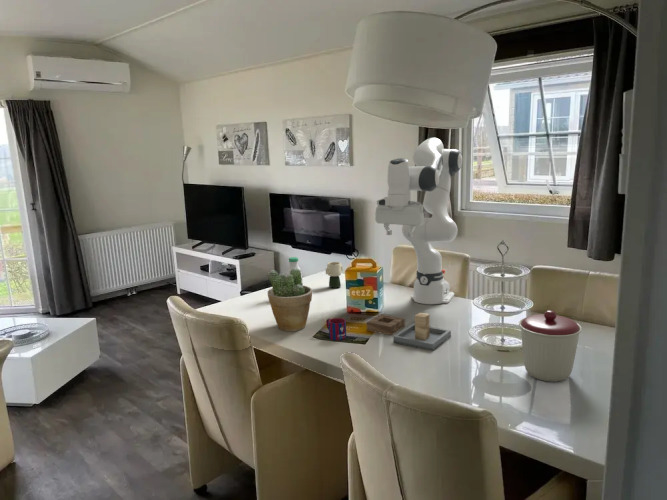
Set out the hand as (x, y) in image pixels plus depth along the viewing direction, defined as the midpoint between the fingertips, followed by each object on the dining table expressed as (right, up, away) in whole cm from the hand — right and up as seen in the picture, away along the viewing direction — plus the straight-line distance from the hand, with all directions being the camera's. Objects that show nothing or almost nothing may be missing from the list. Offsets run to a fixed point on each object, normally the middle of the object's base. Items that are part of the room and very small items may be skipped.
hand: (399, 235), depth 208 cm
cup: (-25, -40, -2) cm, 47 cm away
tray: (+7, -40, -10) cm, 41 cm away
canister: (+41, -45, -43) cm, 75 cm away
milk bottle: (-45, -29, +52) cm, 75 cm away
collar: (-5, -37, +4) cm, 38 cm away
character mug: (-26, -26, +67) cm, 76 cm away
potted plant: (-43, -38, +10) cm, 58 cm away
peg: (+7, -39, -10) cm, 41 cm away
